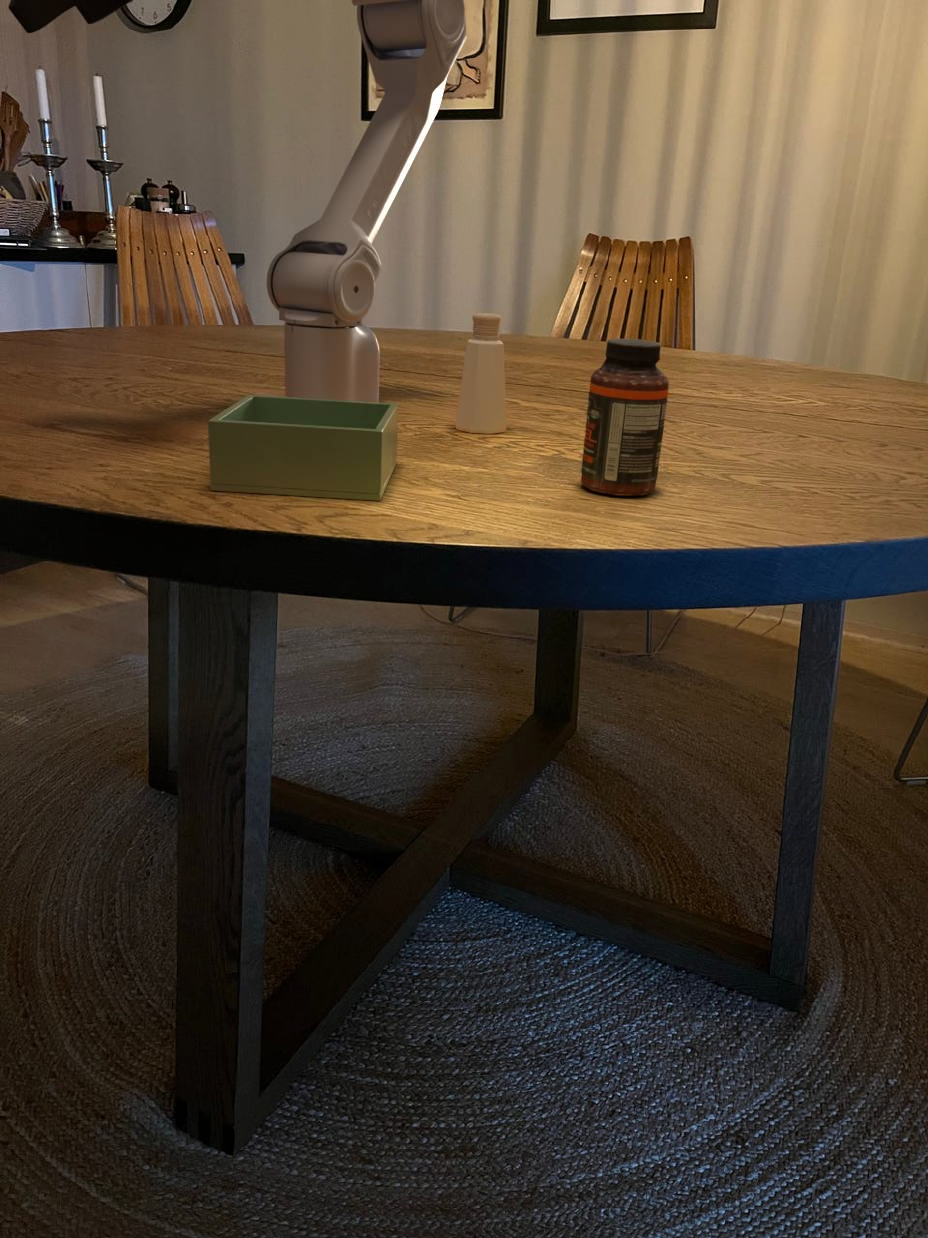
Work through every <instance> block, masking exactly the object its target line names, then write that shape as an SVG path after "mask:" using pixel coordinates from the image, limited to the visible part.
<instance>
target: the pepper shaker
mask: <svg viewBox="0 0 928 1238" xmlns="http://www.w3.org/2000/svg"><path fill="white" fill-rule="evenodd" d="M502 319H503V318H502V316H501V315H500V314H497V313H488V312H487V313H486V312H477V313H474V314H473V315H472V322H473V324H472V326H473V327H472V337H473V338H469V339H468V340H467V343H466V347H465V354H464V359H463V360H464V361H463V366H462V367H463V368H462V374H461V381H460V387H459V394H458V400H457V405H456V406H457V407H456V414H455V421H454V426H455V429H456V431H460V432H465V433H466V432H467V433H470V434H486V435H488V434H490V435H494V434H500V433H506V431H507V403H506V401H507V400H506V399H507V398H506V368H505V367H506V365H505V364H506V363H505V344H504V343H503V341H501V340H499V338H500V332H501V331H500V330H501V323H502Z"/></svg>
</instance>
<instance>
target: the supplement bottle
mask: <svg viewBox="0 0 928 1238" xmlns="http://www.w3.org/2000/svg"><path fill="white" fill-rule="evenodd" d="M661 347H662V344H661V343H660V342H656V341H653V340H645V339H639V338H637V339H636V338H610V339H608V340H607V342H606V349H605V354H604V355H605V359H604V361H603V363H602V364H601V366H600V367H599V368H597V369H596V370H594V371H593V372H592V374H591V377H590V382H589V390H588V399H587V409H586V421H585V432H584V439H583V448H582V449H583V452H582V460H581V461H582V462H581V469H580V473H581V477H580V481H581V484H582V485H583V486H584V487H585V488H586V489H588V490H590V491H591V492H595V493H599V494H603V495H611V496H615V497H642V496H645V495H647V494H650V493H652V492H653V491H655V489H656V487H657V480H658V474H659V466H660V459H661V452H662V443H663V437H664V429H665V421H666V413H667V406H668V405H667V404H668V397H669V389H670V388H669V387H670V382H669V379H668V376H667V375H666V374H665V373H664V372H662V371H661V370H660V368H659V367H658V366H657V363H658V362H659V361H660V360H661Z"/></svg>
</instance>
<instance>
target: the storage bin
mask: <svg viewBox="0 0 928 1238" xmlns="http://www.w3.org/2000/svg"><path fill="white" fill-rule="evenodd" d="M398 423H399V403H395V402H394V403H393V402H363V401H346V400H330V399H313V398H297V397H285V396H279V395H278V396H277V395H262V394H248V395H246V396H244V397H242V398H241V399H240V400H238V401H236V402H235V403H233V404H232V405H230V406H229V407H227V408H225V409H224V410H222V411H221V412H219V413H218V414H216V415H215V416H213V417H212V418H210V419H208V420H207V429H208V453H209V454H208V456H209V457H208V458H209V482H210V485H209V486H210V491H213V492H214V491H215V492H230V493H231V492H232V493H244V494H245V493H246V494H247V493H248V494H260V495H261V494H263V495H264V494H265V495H279V496H296V497H311V498H328V499H346V500H362V501H376V502H380V501H381V500H382V498H383V496H384V493H385V491H386V489H387V486H388V484H389V482H390V480H391V477H392V476H393V473H394V470H395V469H396V466H397V461H398V460H397V459H398V458H397V457H398V430H399V429H398V427H399V425H398Z"/></svg>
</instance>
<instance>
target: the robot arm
mask: <svg viewBox="0 0 928 1238" xmlns="http://www.w3.org/2000/svg"><path fill="white" fill-rule="evenodd" d="M133 1H134V0H10V2H9V3H8V9H9V11H10V13H11V14H12V15H13V17H14V18H15V19H16V21H17V22H18V24H20V26H21V28H23V30H24V31H25V33H27V34H34V33H35V32H38V31H40V30H42V29H43V28H45V27H46V26H48V25H49V24H50V23H52V22H53V21H55V20H56V19H57V18H59V17H61V15H62V14H64V13H65V12H67V11H69V10H70V9H72V8H74V7H75V8H76V9H77V10H78V12H79V13H80V15H81V17H82V18H83V20H84V21H85V22H86V24H88V25H93V24H96V23H98V22H100V21H103V20H104V19H106V18H107V17H109V16H111V15H113V13H115V12H117V11H118V10H120V9H121V8H123V7H124V6H126V5H128V4H130V3H131V2H133ZM351 3H352V6H354V7H355V6H356V23H357V26H358V31H359V35H360V38H361V41H362V44H363V48H364V50H365V53H366V57H367V60H368V62H369V65H370V69H371V72H372V75H373V78H374V81H375V83H376V84H377V85H378V86H379V87H380V88H381V89H383V90H384V94H383V96H382V98H381V100H380V102H379V104H378V106H377V108H376V110H375V112H374V114H373V115H372V117H371V119H370V121H369V124H368V125H367V127H366V129H365V131H364V133H363V135H362V137H361V139H360V141H359V143H358V145H357V146H356V149H355V151H354V153H353V154H352V156H351V158H350V161H349V162H348V164H347V166H346V168H345V170H344V172H343V174H342V176H341V178H340V179H339V182H338V184H337V186H336V187H335V190H334V192H333V193H332V196H331V198H330V200H329V201H328V202H327V203H328V204H327V205H326V207H325V210H324V211H323V213H322V215H321V217H320V218H319V219H318V220H316V221H314V222H313V223H311V224H310V225H307V226H306V227H304V228H302V229H301V230H299V231H298V232H296V233H295V234H294V235H293V236H292V239H291V240H290V242H289V244H288V245H287V246H286V248H284V249H283V250H282V251H280V252H278V253H277V254H276V255H275V256H274V257H273V259H272V260H271V262H270V264H269V266H268V269H267V274H266V289H267V295H268V298H269V301H270V303H271V304H272V306H273V308H275V309H276V311H278V320H279V321H282V322H284V324H283V325H284V326H283V328H284V329H283V332H284V333H283V334H284V335H283V336H284V397H297V398H313V399H330V400H346V401H363V402H379V401H380V400H379V397H380V392H379V391H380V362H381V361H380V357H381V354H380V346H379V342H378V340H377V336H376V334H375V333H374V332H373V330H372V329H371V328H369V327H368V326H367V325H365V324H363V319H365V317H366V316H367V315H368V313H369V312H370V310H371V308H372V306H373V303H374V298H375V294H376V292H375V291H376V285H377V282H378V280H379V279H378V278H379V276H380V274H381V272H382V270H383V264H382V262H381V259H380V256H379V254H378V252H377V250H376V249H375V247H374V245H372V244H373V242H374V240H375V238H376V236H377V234H378V232H379V230H380V228H381V226H382V224H383V223H384V220H385V218H386V216H387V214H388V212H389V210H390V209H391V206H392V204H393V202H394V199H395V198H396V196H397V194H398V191H399V190H400V189H401V186H402V184H403V183H404V180H405V178H406V176H407V174H408V172H409V170H410V168H411V166H412V164H413V162H414V161H415V158H416V156H417V154H418V152H419V150H420V148H421V146H422V144H423V142H424V140H425V138H426V136H427V134H428V132H429V130H430V129H431V126H432V124H433V122H434V120H435V117H436V116H437V114H438V112H439V110H440V107H441V103H442V99H443V95H444V91H445V86H446V83H447V78H448V77H449V74H450V71H451V70H452V67H453V66H454V64H455V62H456V59H457V58H458V55H459V54H460V53H461V50H462V48H463V46H464V44H465V42H466V40H467V38H468V31H467V19H466V7H465V0H351ZM379 403H380V402H379Z"/></svg>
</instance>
